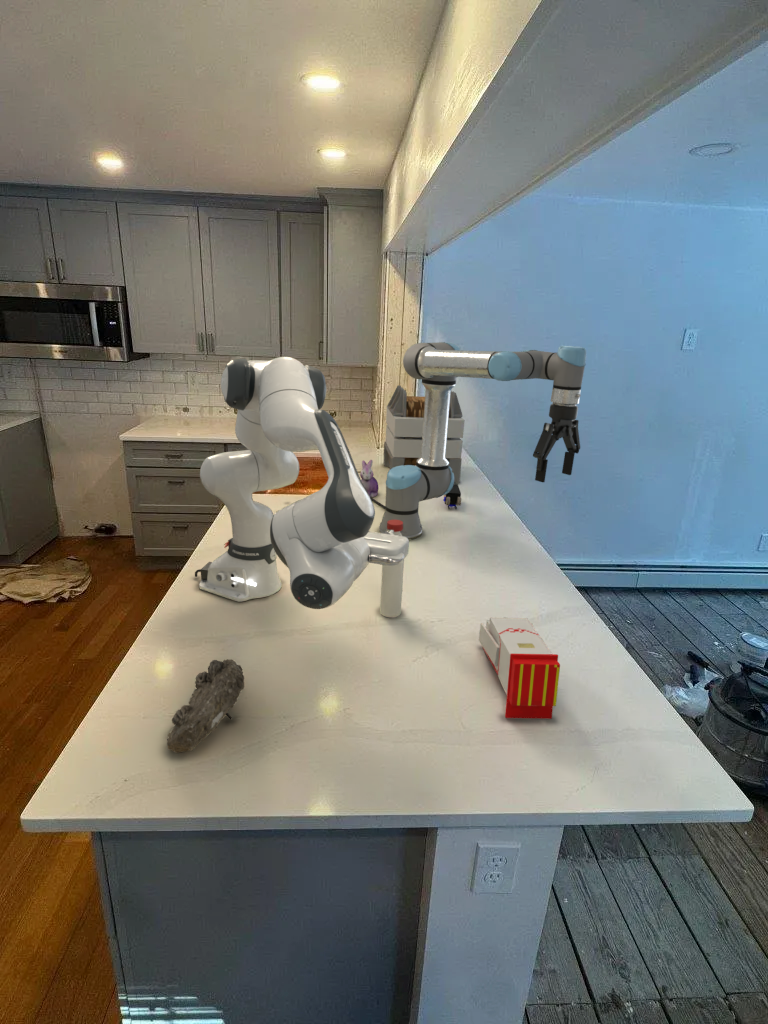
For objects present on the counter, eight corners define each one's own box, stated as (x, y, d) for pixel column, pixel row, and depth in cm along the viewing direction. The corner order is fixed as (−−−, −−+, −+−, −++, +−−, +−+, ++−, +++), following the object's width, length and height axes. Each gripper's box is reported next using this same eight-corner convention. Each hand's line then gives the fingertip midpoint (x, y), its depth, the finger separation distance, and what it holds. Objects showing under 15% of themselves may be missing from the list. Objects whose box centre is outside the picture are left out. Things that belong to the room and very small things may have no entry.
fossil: (192, 660, 117) (244, 628, 112) (224, 691, 120) (276, 661, 115) (142, 746, 98) (202, 712, 93) (182, 779, 101) (242, 748, 96)
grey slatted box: (382, 463, 289) (386, 382, 275) (445, 464, 293) (451, 384, 279) (390, 482, 257) (394, 392, 243) (460, 483, 261) (468, 394, 247)
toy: (525, 603, 136) (569, 660, 107) (520, 654, 139) (562, 725, 109) (475, 601, 135) (505, 659, 106) (471, 653, 138) (499, 724, 109)
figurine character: (461, 514, 225) (456, 498, 239) (463, 497, 222) (458, 482, 235) (444, 513, 225) (440, 498, 239) (446, 496, 222) (442, 481, 235)
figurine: (363, 499, 233) (364, 464, 228) (353, 492, 242) (354, 458, 236) (383, 497, 237) (385, 462, 232) (373, 490, 246) (374, 456, 241)
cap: (392, 532, 138) (392, 526, 137) (383, 527, 141) (384, 521, 140) (405, 530, 140) (406, 523, 139) (396, 525, 143) (397, 518, 142)
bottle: (387, 619, 145) (392, 529, 136) (376, 610, 149) (379, 521, 141) (405, 614, 148) (410, 525, 139) (393, 605, 152) (398, 518, 143)
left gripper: (400, 547, 101) (418, 522, 114) (295, 531, 107) (323, 509, 119) (398, 579, 103) (416, 551, 116) (295, 562, 109) (323, 536, 121)
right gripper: (550, 409, 147) (539, 487, 154) (600, 403, 163) (588, 474, 170) (526, 405, 152) (516, 481, 160) (576, 399, 168) (566, 468, 175)
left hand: (368, 529), depth 118 cm, fingers open, 8 cm apart
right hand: (553, 477), depth 165 cm, fingers open, 13 cm apart
